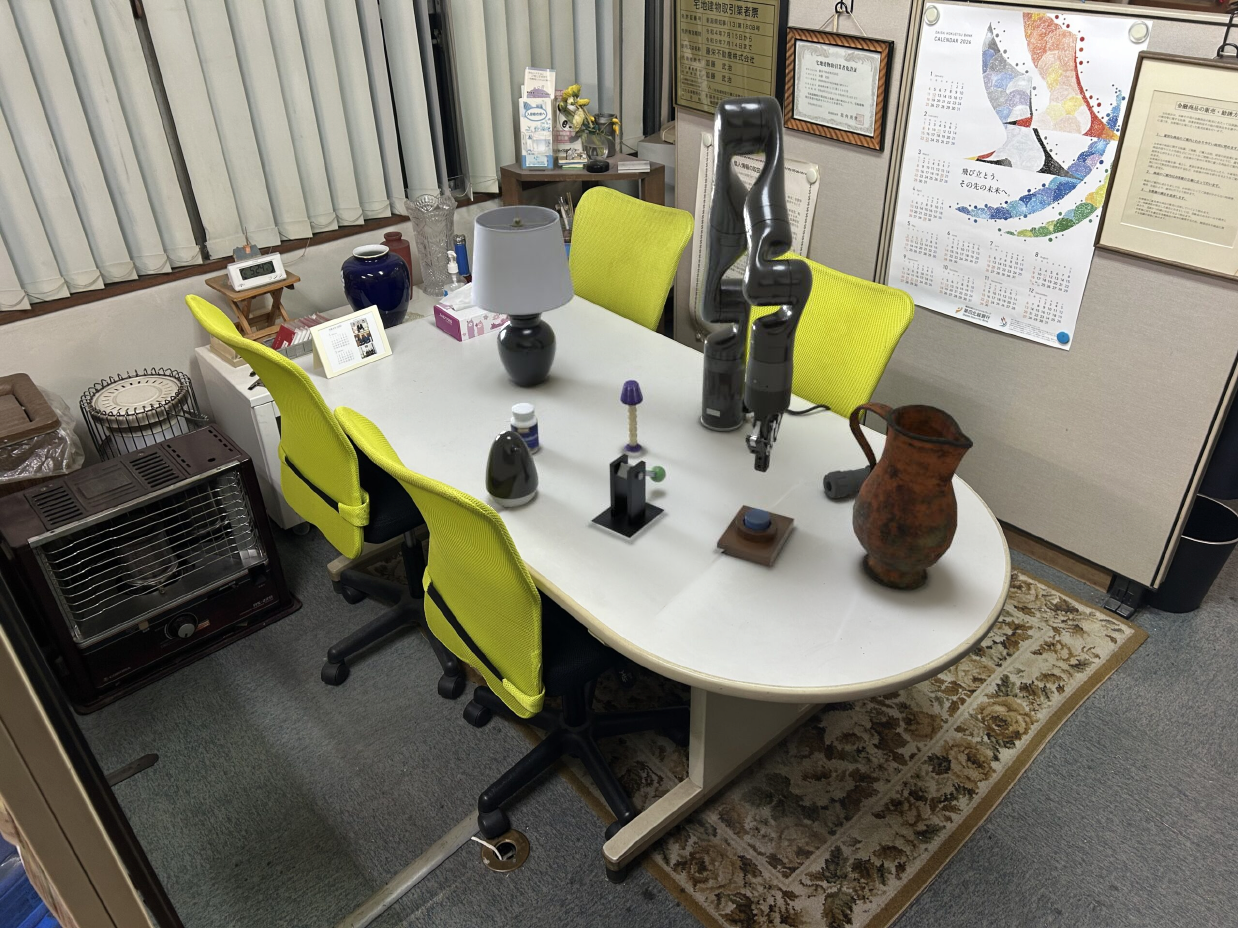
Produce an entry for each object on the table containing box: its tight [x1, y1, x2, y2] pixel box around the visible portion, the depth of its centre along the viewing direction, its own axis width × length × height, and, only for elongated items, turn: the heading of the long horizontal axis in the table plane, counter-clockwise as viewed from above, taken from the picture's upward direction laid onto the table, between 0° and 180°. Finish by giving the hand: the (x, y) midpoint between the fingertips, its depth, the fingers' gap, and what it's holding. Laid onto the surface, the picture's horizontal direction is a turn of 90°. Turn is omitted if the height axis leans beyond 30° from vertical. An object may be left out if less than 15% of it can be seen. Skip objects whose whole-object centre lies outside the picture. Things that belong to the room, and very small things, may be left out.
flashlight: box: [822, 464, 870, 499], centre depth 174 cm, size 15×5×5 cm, turn 108°
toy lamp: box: [619, 379, 644, 453], centre depth 184 cm, size 5×5×17 cm
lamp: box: [470, 205, 575, 388], centre depth 208 cm, size 24×24×40 cm
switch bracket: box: [591, 453, 665, 539], centre depth 164 cm, size 11×9×13 cm
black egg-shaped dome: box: [484, 430, 540, 508], centre depth 170 cm, size 10×10×15 cm
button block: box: [716, 504, 795, 568], centre depth 161 cm, size 13×10×4 cm
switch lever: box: [617, 462, 667, 483], centre depth 166 cm, size 14×3×3 cm, turn 143°
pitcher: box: [848, 402, 974, 591], centre depth 147 cm, size 17×21×30 cm
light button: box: [745, 508, 770, 530], centre depth 159 cm, size 4×4×2 cm
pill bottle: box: [510, 402, 540, 455], centre depth 188 cm, size 6×6×10 cm
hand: (761, 469), depth 154 cm, fingers closed
